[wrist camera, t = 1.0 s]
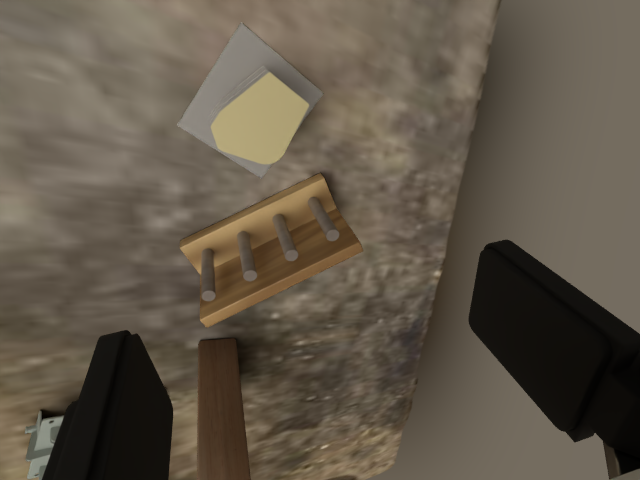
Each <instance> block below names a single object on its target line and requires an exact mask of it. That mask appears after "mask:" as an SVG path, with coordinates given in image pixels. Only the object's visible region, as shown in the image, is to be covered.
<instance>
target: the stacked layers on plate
mask: <svg viewBox="0 0 640 480" xmlns="http://www.w3.org/2000/svg"><path fill="white" fill-rule="evenodd" d="M323 94H324V93H323V92H322V91H320V90H319V89H318V88H317V87H316V86H315V85H313V84H312V83H311V82H310V81H309V80H308V79H306V78H305V77H304V76H303V75H302V74H301V73H299V72H298V71H297V70H296V69H295V68H294V67H292V66H291V65H290V64H289V63H288V62H287V61H286V60H284V59H283V58H282V57H281V56H280V55H279V54H277V53H276V52H275V51H274V50H273V49H272V48H270V47H269V46H268V45H267V44H266V43H265V42H263V41H262V40H261V39H260V38H259V37H258V36H256V35H255V34H254V33H253V32H252V31H251V30H249V29H248V28H247V27H246V26H245V25H244V24H243V23H240V25H239V26H238V28H237V30H236V31H235V33H234V34H233V36H232V38H231V39H230V41H229V42H228V44H227V46H226V47H225V49H224V50H223V52H222V54H221V55H220V57H219V59H218V60H217V62H216V63H215V65H214V67H213V68H212V70H211V71H210V73H209V75H208V76H207V78H206V79H205V81H204V83H203V84H202V86H201V88H200V89H199V91H198V92H197V94H196V96H195V97H194V99H193V100H192V102H191V104H190V105H189V107H188V108H187V110H186V112H185V113H184V115H183V117H182V118H181V120H180V121H179V123H178V125H177V126H179V127H180V128H182V129H184V130H185V131H187V132H188V133H190V134H192V135H193V136H195V137H196V138H198V139H200V140H201V141H203V142H204V143H206V144H207V145H209V146H211V147H212V148H214V149H215V150H217V151H219V152H220V153H222V154H223V155H225V156H227V157H228V158H230V159H231V160H233V161H234V162H236V163H238V164H239V165H241V166H242V167H244V168H246V169H247V170H249V171H250V172H252V173H254V174H255V175H257V176H258V177H260V178H261V179H262V178H263V176H264V175H265V173H266V172H267V171H268V169H269V168H270V167H271V165H272V164H273V163H275V162H276V161H278V160H279V159H280V158H281V157H282V156H283V154H284V153H285V151H286V149H287V147H288V145H289V143H290V141H291V139H292V137H293V136H294V134H295V132H296V131H297V129H298V128H299V127H300V125H301V124H302V122H303V121H304V120H305V118H306V117H307V116H308V114H309V113H310V111H311V110H312V109H313V107H314V106H315V105H316V103H317V102H318V100H319V99H320V98H321V96H322V95H323Z"/></svg>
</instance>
